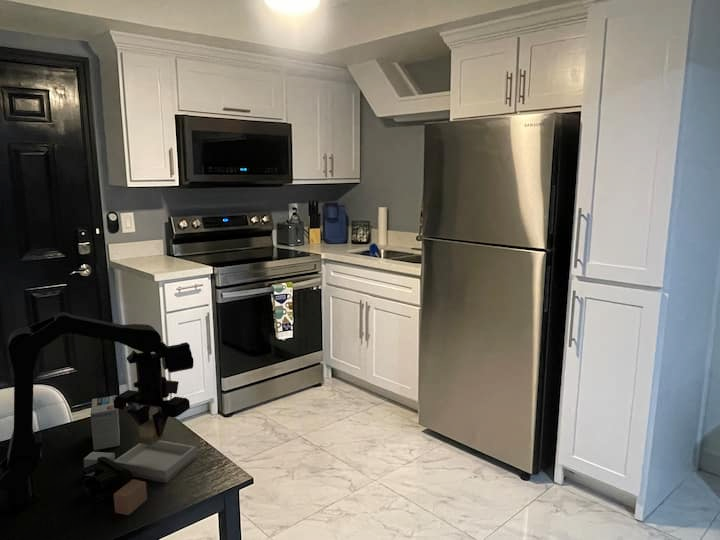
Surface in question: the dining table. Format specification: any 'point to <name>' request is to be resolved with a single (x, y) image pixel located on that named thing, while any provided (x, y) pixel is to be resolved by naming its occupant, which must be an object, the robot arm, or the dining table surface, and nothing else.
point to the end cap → (105, 479)
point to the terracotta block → (130, 497)
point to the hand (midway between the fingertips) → (153, 435)
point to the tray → (157, 460)
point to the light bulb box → (105, 423)
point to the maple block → (150, 433)
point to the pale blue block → (93, 459)
